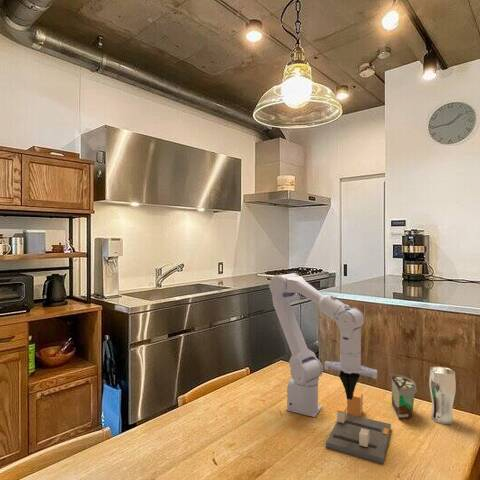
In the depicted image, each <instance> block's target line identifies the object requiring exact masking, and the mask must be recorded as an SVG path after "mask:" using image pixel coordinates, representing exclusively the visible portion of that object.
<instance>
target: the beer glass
mask: <svg viewBox="0 0 480 480" xmlns="http://www.w3.org/2000/svg"><path fill="white" fill-rule="evenodd" d="M428 379H429V382H428V383H429V385H428V386H429V392H430V399H431V406H432V407H431V413H430V418H431V420H432V421H434V423H435V422H436V423H437V424H439V425H440V424H441V425H452V424H454V415H453V405H454V401H455V398H456V397H455V396H456V389H457V386H456V385H457V384H456V383H457V381H456V371H454V370H453V369H451V368H449V367H445V366H430V369H429V378H428Z"/></svg>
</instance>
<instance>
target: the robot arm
mask: <svg viewBox="0 0 480 480" xmlns="http://www.w3.org/2000/svg"><path fill="white" fill-rule="evenodd" d="M268 287H269V289H270V292H271V297H272V305H273V308H274V310H275V313H276V315H277V318H278V321H279V324H280V327H281V328H282V329H281V330H282V331H283V334H284V337H285V339H286V342H287V344H288V347H289V350H290V352H291V357H290V358H289V361H288V364H289V368H290V377H291V378H289V381H288V382H287V389H286V398H287V399H286V411H289V412H292V413H296V414H300V415H303V416H309V417H312V418H316V416H317V415H318V414H319V412H320V411H321V409H322V408H323V405H321V404H319V381H320V376H322V374H323V371H324V370H327V371H329V370H330V371H336V372H339V374H338V376H339V379H340V381H341V383H342V385H343V388H344V392H345V395H346V400H347V399H350V400H352V398H353V394H354V391H355V389H356V386H357V383H358V381H359V378H360V377H361V376H364V377H368V378H372V379H374V380H377V378H378V370H377V369H376V368H375V369H374V368H370V367H367V366H365V365H361V364H362V363H361V361H362V359H361V357H362V356H361V355H362V352H361V351H362V328H361V327H362V326H363V325H364V324H365V315H364V313H363V312H362V311H361V310H360V309H359V308H357V307H350V305H349V304H345V303H344V302H342V301H341V300H339V299H337V298H338V296H336V295H334V294H332V295H331V294H326V295H325V294H324V293H322V292H320V290H317V288H315V287H314V286H312V285H311V284H310V283H308V281H306V280H305V279H304V277H303V276H300V275H298V273H296V272H292V273H287V274H286V273H285V274H276V275H273V276H272V277H271V279H270V282H269V285H268ZM297 293H298V294H300V295H301V296H303V297H305V298H307V299H308V300H310V301H312V303H313V302H314V303H315V304H317V305H318V310H319V311H320V312H321V313H323V314H325V315H326V316H327V317H329V318H330V319H332V320H333V321H334V322H335V323H336V325H337V328H338V329H339V335H340V338H339V361H328V360H326V361H325V362H324V370H323V365H322V363H321V361H320V360H319V358H317V355H316V353H315V352H313V351H312V350H311V349H309V348H308V345H307V343H306V341H305V338H304V336H303V333H302V330H301V328H300V325H299V322H298V321H297V318H296V314H295V312H294V310H293V308H292V305H291V302H292V299H293V298H295V297H294V296H295V295H296V294H297Z"/></svg>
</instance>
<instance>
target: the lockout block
mask: <svg viewBox="0 0 480 480" xmlns="http://www.w3.org/2000/svg"><path fill="white" fill-rule="evenodd" d="M363 395H364V394H363V392H361V391H357V390H354V394H353V398H352V400H350V399H347V398H346V414H351V415H355V416H359V417H361V416H362V414H363V411H364V408H363V407H364V406H363V405H364V402H363V399H364V396H363Z"/></svg>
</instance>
